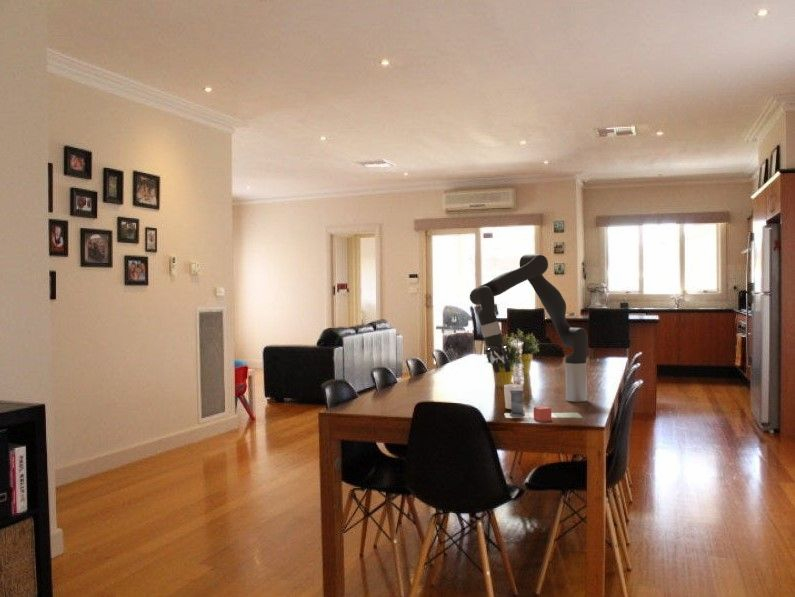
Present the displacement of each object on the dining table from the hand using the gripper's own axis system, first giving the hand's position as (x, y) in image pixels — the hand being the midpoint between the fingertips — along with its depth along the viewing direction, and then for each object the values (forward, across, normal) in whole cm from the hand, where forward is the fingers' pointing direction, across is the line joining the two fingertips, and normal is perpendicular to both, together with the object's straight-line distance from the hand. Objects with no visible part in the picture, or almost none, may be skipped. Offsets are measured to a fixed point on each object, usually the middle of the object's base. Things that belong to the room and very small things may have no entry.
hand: (502, 372), depth 278 cm
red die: (+21, +16, +2) cm, 26 cm away
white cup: (+18, -12, +7) cm, 23 cm away
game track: (+21, +8, +7) cm, 23 cm away
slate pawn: (+18, +4, -1) cm, 18 cm away
